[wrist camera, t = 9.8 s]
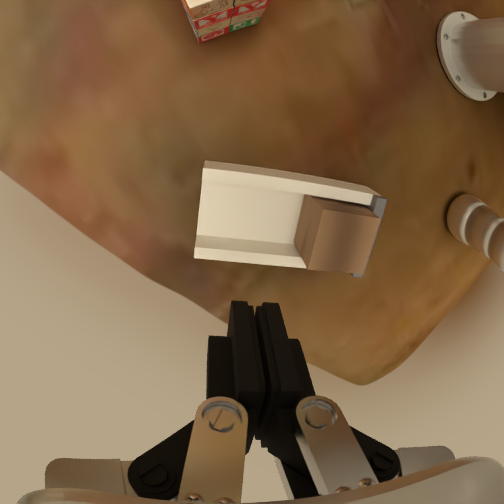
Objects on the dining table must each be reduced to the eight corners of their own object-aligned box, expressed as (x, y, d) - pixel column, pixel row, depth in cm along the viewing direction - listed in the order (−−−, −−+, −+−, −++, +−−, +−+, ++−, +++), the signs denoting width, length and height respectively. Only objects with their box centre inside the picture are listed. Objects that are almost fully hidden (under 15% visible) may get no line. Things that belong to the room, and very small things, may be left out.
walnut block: (355, 199, 33) (380, 218, 27) (342, 247, 35) (362, 274, 30) (305, 190, 32) (323, 209, 26) (293, 242, 34) (307, 269, 29)
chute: (366, 186, 33) (387, 199, 29) (346, 256, 37) (362, 277, 33) (205, 160, 30) (202, 170, 26) (196, 241, 34) (193, 262, 30)
